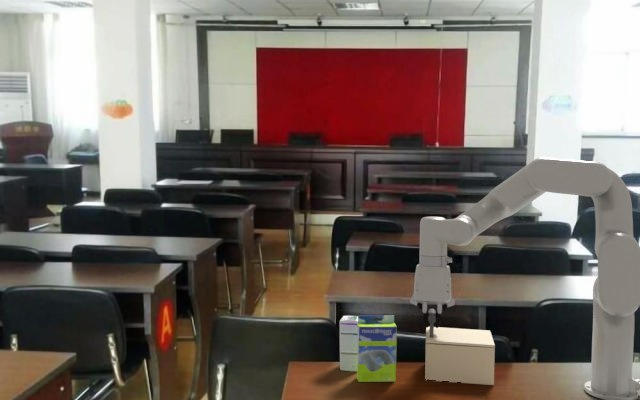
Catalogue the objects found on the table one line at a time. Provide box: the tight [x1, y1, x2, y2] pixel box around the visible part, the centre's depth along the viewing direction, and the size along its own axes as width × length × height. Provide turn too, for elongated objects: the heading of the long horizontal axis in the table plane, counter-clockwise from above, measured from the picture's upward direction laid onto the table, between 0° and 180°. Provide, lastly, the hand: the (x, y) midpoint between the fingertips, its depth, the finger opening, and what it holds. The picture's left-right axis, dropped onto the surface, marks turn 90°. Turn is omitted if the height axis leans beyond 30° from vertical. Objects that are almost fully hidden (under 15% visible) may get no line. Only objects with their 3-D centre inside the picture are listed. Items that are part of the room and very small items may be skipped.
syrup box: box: [339, 315, 359, 372], centre depth 176 cm, size 6×6×14 cm
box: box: [356, 314, 398, 383], centre depth 167 cm, size 10×4×17 cm, turn 93°
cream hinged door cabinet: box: [424, 342, 496, 386], centre depth 172 cm, size 18×14×10 cm
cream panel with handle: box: [425, 308, 496, 348], centre depth 171 cm, size 18×14×7 cm
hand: (431, 325), depth 173 cm, fingers closed on cream panel with handle, 2 cm apart
